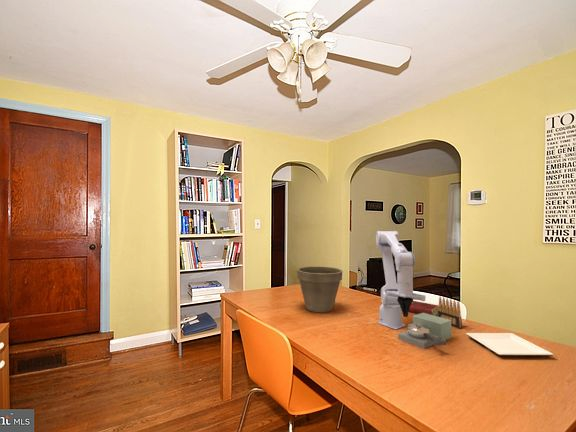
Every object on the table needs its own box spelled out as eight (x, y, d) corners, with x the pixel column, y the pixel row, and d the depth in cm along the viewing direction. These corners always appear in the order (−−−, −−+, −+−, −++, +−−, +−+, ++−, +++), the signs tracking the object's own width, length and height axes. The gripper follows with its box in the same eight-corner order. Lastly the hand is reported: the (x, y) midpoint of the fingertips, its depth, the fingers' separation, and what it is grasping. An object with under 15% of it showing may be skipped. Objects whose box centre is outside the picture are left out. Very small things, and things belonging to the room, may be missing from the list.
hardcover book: (432, 318, 138) (432, 310, 138) (391, 309, 153) (391, 302, 153) (440, 313, 147) (440, 305, 147) (401, 305, 162) (400, 297, 162)
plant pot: (349, 306, 158) (348, 268, 159) (331, 319, 137) (331, 274, 138) (310, 300, 172) (310, 264, 172) (288, 310, 151) (288, 270, 152)
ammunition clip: (462, 328, 124) (461, 301, 125) (459, 328, 124) (458, 301, 124) (440, 320, 134) (439, 295, 134) (437, 321, 133) (437, 296, 134)
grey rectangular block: (397, 338, 114) (396, 321, 114) (423, 328, 124) (423, 312, 124) (425, 349, 104) (425, 330, 104) (451, 337, 114) (451, 320, 114)
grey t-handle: (403, 331, 115) (403, 320, 115) (421, 330, 116) (420, 319, 116) (430, 348, 99) (430, 335, 99) (450, 346, 100) (450, 334, 101)
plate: (465, 337, 114) (465, 332, 114) (511, 337, 114) (511, 332, 114) (499, 359, 96) (499, 353, 96) (554, 360, 95) (554, 354, 95)
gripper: (383, 281, 114) (384, 315, 113) (422, 286, 105) (423, 322, 105) (388, 279, 119) (389, 311, 119) (426, 283, 111) (427, 317, 110)
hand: (405, 316), depth 112 cm, fingers closed
